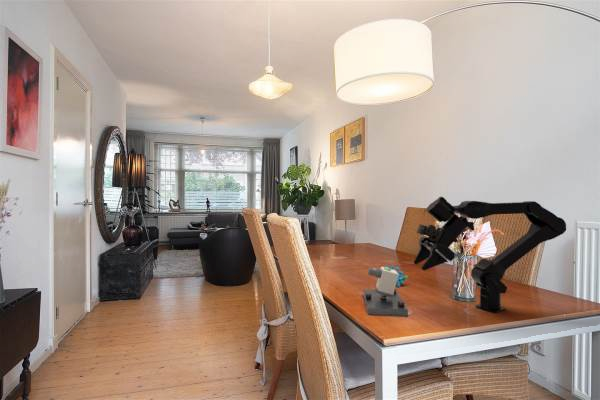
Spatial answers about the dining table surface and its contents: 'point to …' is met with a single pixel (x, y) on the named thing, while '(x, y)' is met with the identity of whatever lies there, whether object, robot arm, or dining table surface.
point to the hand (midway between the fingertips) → (418, 266)
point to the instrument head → (384, 280)
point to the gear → (399, 276)
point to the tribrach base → (384, 304)
